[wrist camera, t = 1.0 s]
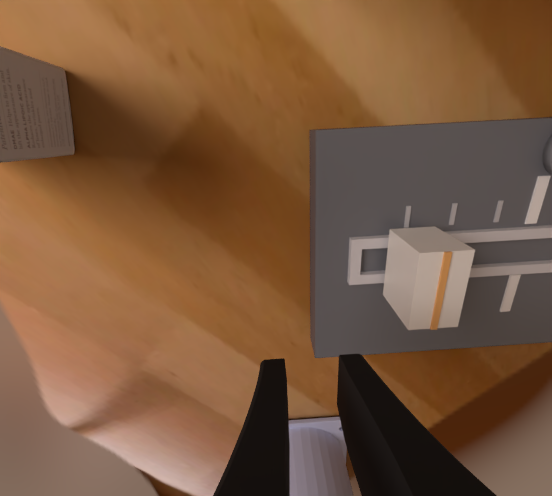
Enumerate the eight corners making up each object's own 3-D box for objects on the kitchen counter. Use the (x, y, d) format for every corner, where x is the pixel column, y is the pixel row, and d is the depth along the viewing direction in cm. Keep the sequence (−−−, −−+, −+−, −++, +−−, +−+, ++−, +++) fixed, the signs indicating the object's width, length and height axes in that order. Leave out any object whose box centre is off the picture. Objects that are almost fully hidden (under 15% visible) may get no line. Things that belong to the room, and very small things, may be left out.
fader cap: (420, 288, 17) (459, 327, 14) (380, 291, 17) (409, 331, 14) (430, 224, 16) (477, 250, 12) (386, 226, 16) (420, 254, 12)
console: (528, 323, 22) (569, 353, 19) (310, 338, 21) (317, 370, 18) (599, 114, 16) (670, 112, 13) (309, 130, 16) (319, 130, 13)
